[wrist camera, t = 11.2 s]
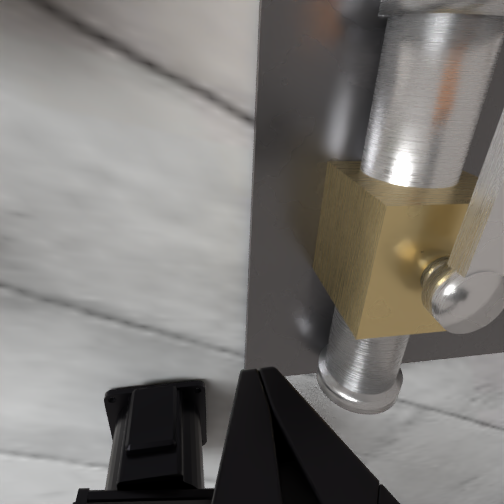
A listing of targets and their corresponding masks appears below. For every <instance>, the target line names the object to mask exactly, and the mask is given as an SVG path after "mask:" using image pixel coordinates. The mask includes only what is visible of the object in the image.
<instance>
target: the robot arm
mask: <svg viewBox="0 0 504 504" xmlns="http://www.w3.org/2000/svg"><path fill="white" fill-rule="evenodd" d="M196 388H198V389H196ZM111 397H112V398H111ZM104 403H105V408H106V412H107V417H108V421H109V426H110V430H111V435H112V439H113V444H112V450H111V456H110V462H109V468H108V474H107V480H106V487H105V490H89V488H79V490H78V494H77V498H76V502H73V504H400V503H399V502H398V501H397V500H396V499H395V498H394V497H393V496H392V495H391V493H390V492H389V491H388V490H387V489H386V488H385V487H384V486H383V485H382V484H380V485H379V480H378V479H377V478H376V477H375V476H374V475H373V474H372V473H371V472H370V471H369V469H368V468H367V467H366V466H365V465H364V464H363V463H362V462H361V461H360V460H359V458H358V457H357V456H356V455H355V454H354V453H353V452H352V451H351V450H350V449H349V447H348V446H347V445H346V444H345V443H344V442H343V441H342V440H341V439H340V438H339V436H338V435H337V434H336V433H335V432H334V431H333V430H332V429H331V428H330V427H329V425H328V424H327V423H326V422H325V421H324V420H323V419H322V418H321V417H320V416H319V414H318V413H317V412H316V411H315V410H314V409H313V408H312V407H311V406H310V405H309V403H308V402H307V401H306V400H305V399H304V398H303V397H302V396H301V395H300V394H299V392H298V391H297V390H296V389H295V388H294V387H293V386H292V385H291V384H290V383H289V382H288V380H287V379H286V378H285V377H284V376H283V375H282V374H281V373H280V372H279V371H278V369H277V368H275V367H262V368H259V369H258V370H257V369H256V368H253V369H243V370H241V371H240V375H239V379H238V384H237V388H236V393H235V398H234V402H233V407H232V411H231V416H230V421H229V425H228V430H227V434H226V439H225V443H224V448H223V453H222V457H221V462H220V466H219V471H218V475H217V480H216V485H215V488H205V487H204V470H203V454H202V446H203V445H205V444H206V442H207V435H206V401H205V384H204V383H203V382H202V381H191V382H181V383H172V384H163V385H153V386H144V387H135V388H125V389H116V390H110V391H108V392H106V394H105V398H104Z"/></svg>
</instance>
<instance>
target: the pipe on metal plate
mask: <svg viewBox="0 0 504 504" xmlns="http://www.w3.org/2000/svg"><path fill="white" fill-rule="evenodd" d="M503 109H504V0H260V6H259V29H258V53H257V77H256V101H255V125H254V149H253V173H252V197H251V221H250V245H249V269H248V293H247V317H246V341H245V365H244V369H253V368H256V369H257V370H258V369H259V368H262V367H275V368H277V369H278V371H279V372H280V373H281V374H282V375H283V376H291V375H300V374H309V373H317V381H318V384H319V386H320V388H321V390H322V391H323V393H324V394H325V395H326V396H327V397H328V398H329V399H330V400H331V401H333V402H334V403H335V404H337V405H338V406H340V407H342V408H344V409H346V410H349V411H352V412H355V413H360V414H377V413H381V412H384V411H386V410H388V409H389V408H391V407H392V406H393V405H394V404H395V402H396V400H397V397H398V394H399V391H400V388H401V385H402V382H403V375H402V371H401V369H400V365H401V363H409V362H418V361H428V360H437V359H446V358H455V357H464V356H473V355H482V354H492V353H501V352H504V309H503V310H502V312H501V313H500V314H499V315H498V316H497V317H496V318H495V319H494V320H493V321H492V322H490V323H489V324H487V325H486V326H484V327H482V328H481V329H478V330H476V331H473V332H470V333H465V334H454V333H451V332H448V331H447V330H445V329H444V328H443V327H442V326H441V325H440V324H439V323H438V321H437V320H436V319H435V318H434V317H433V316H432V315H431V314H430V313H429V312H428V311H427V310H426V309H425V308H424V306H423V304H422V300H421V294H422V290H423V287H424V284H425V283H426V281H427V279H428V278H429V277H430V275H431V274H432V273H433V272H434V271H435V270H436V269H437V268H439V267H440V266H441V265H443V264H444V263H446V262H448V260H449V257H450V255H451V252H452V249H453V246H454V244H455V241H456V238H457V235H458V233H459V230H460V227H461V224H462V222H463V219H464V216H465V213H466V211H467V208H468V205H469V202H470V200H471V197H472V194H473V191H474V189H475V186H476V183H477V180H478V178H479V175H480V172H481V169H482V167H483V164H484V161H485V158H486V156H487V153H488V150H489V147H490V145H491V142H492V139H493V136H494V134H495V131H496V128H497V125H498V123H499V120H500V117H501V114H502V112H503ZM503 277H504V276H503Z"/></svg>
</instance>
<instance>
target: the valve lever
mask: <svg viewBox="0 0 504 504" xmlns="http://www.w3.org/2000/svg"><path fill="white" fill-rule="evenodd" d="M503 276H504V109H503V112H502V114H501V117H500V120H499V123H498V125H497V128H496V131H495V134H494V136H493V139H492V142H491V145H490V147H489V150H488V153H487V156H486V158H485V161H484V164H483V167H482V169H481V172H480V175H479V178H478V180H477V183H476V186H475V189H474V191H473V194H472V197H471V200H470V202H469V205H468V208H467V211H466V213H465V216H464V219H463V222H462V224H461V227H460V230H459V233H458V235H457V238H456V241H455V244H454V246H453V249H452V252H451V255H450V257H449V260H448V262H446V263H444V264H443V265H441V266H440V267H439V268H437V269H436V270H435V271H434V272H433V273H432V274H431V275H430V277H429V278H428V279H427V281H426V283H425V284H424V287H423V290H422V294H421V300H422V304H423V306H424V308H425V309H426V310H427V311H428V312H429V313H430V314H431V315H432V316H433V317H434V318H435V319H436V320H437V321H438V323H439V324H440V325H441V326H442V327H443V328H444V329H445V330H447V331H448V332H451V333H454V334H465V333H470V332H473V331H476V330H478V329H481V328H482V327H484V326H486V325H487V324H489V323H490V322H492V321H493V320H494V319H495V318H496V317H497V316H498V315H499V314H500V313H501V312H502V310H503V309H504V277H503Z"/></svg>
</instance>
